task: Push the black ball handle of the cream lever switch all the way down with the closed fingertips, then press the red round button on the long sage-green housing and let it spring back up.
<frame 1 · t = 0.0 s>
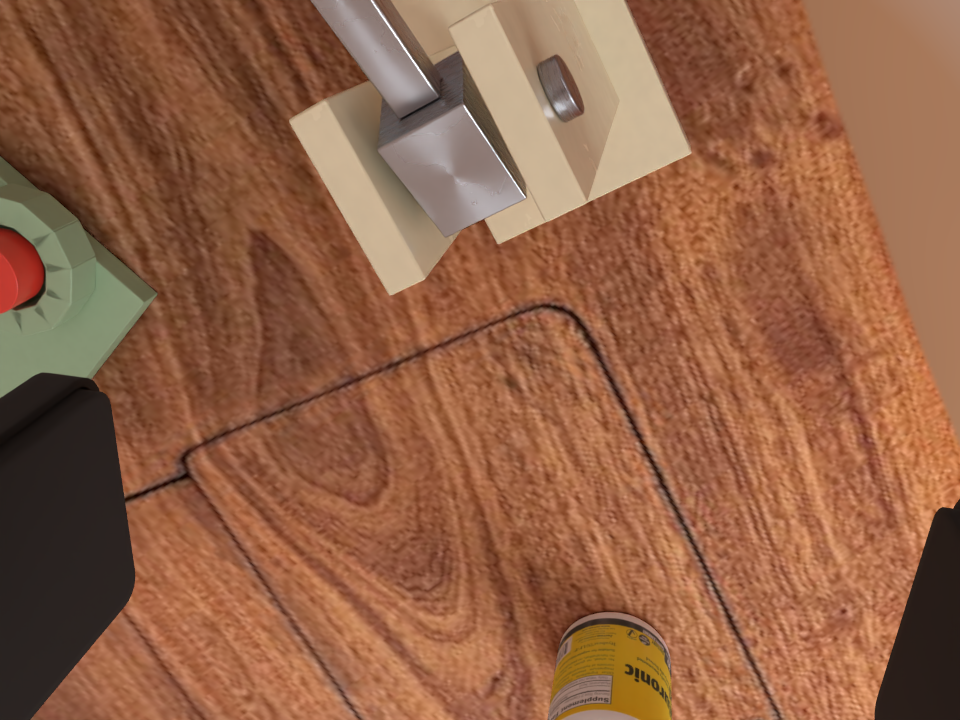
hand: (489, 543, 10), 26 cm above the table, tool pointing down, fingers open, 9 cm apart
switch bracket: (534, 73, 33), on the table
supplement bottle: (614, 649, 43), on the table
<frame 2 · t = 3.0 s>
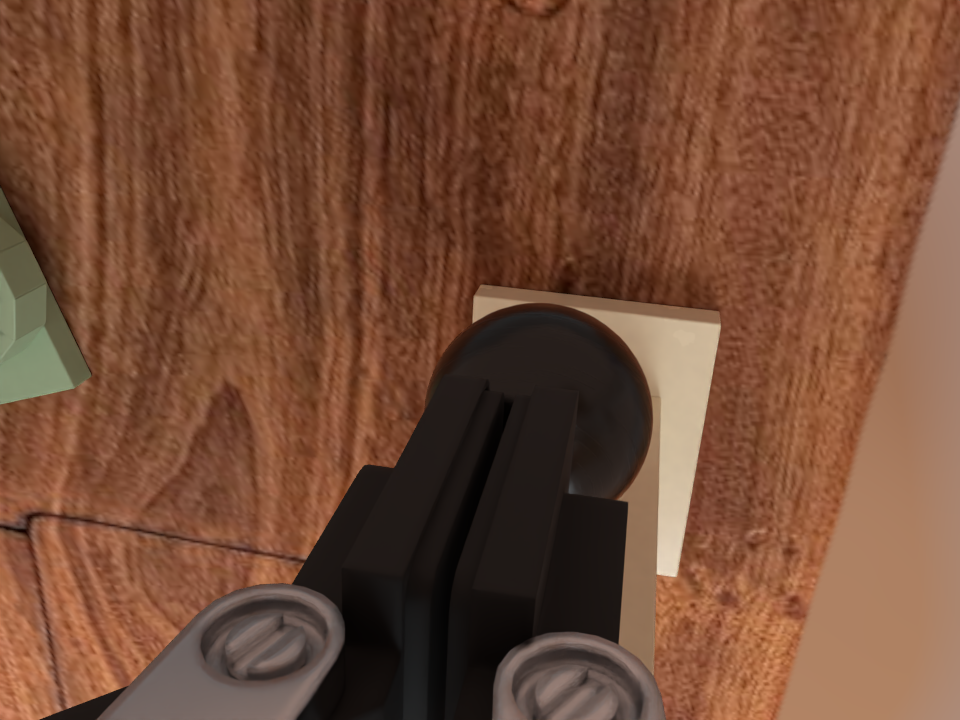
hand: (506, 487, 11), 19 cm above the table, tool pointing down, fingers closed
switch bracket: (583, 427, 32), on the table
lever: (529, 605, 16), point 16 cm above the table, hinge at 18.2°, touching gripper
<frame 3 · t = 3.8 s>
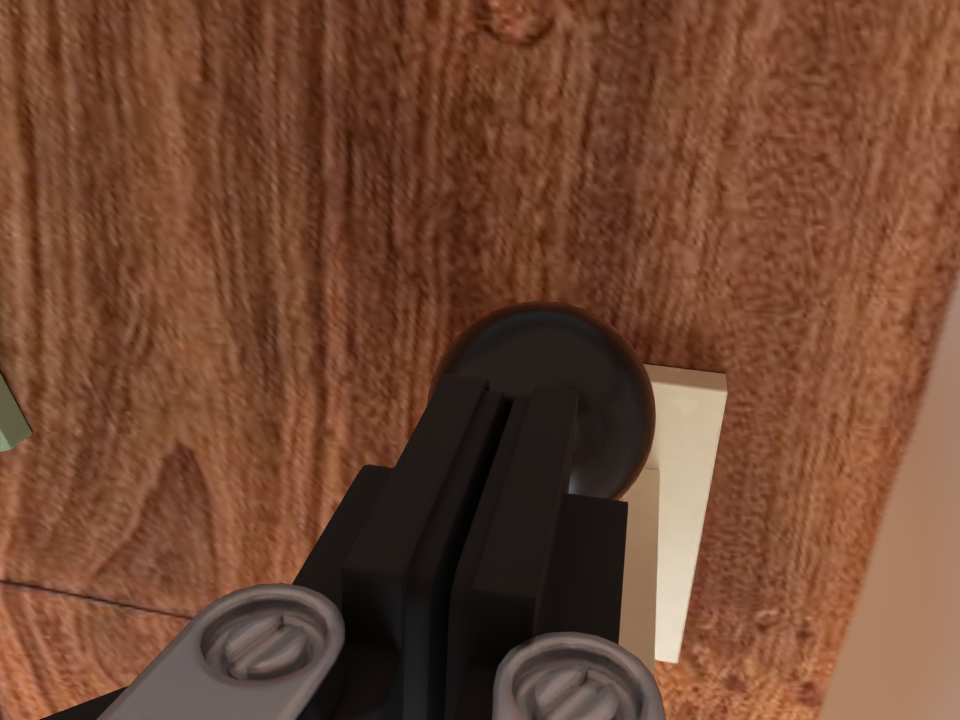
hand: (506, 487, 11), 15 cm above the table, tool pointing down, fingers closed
switch bracket: (573, 497, 29), on the table
lever: (514, 694, 14), point 14 cm above the table, hinge at -4.6°, touching gripper
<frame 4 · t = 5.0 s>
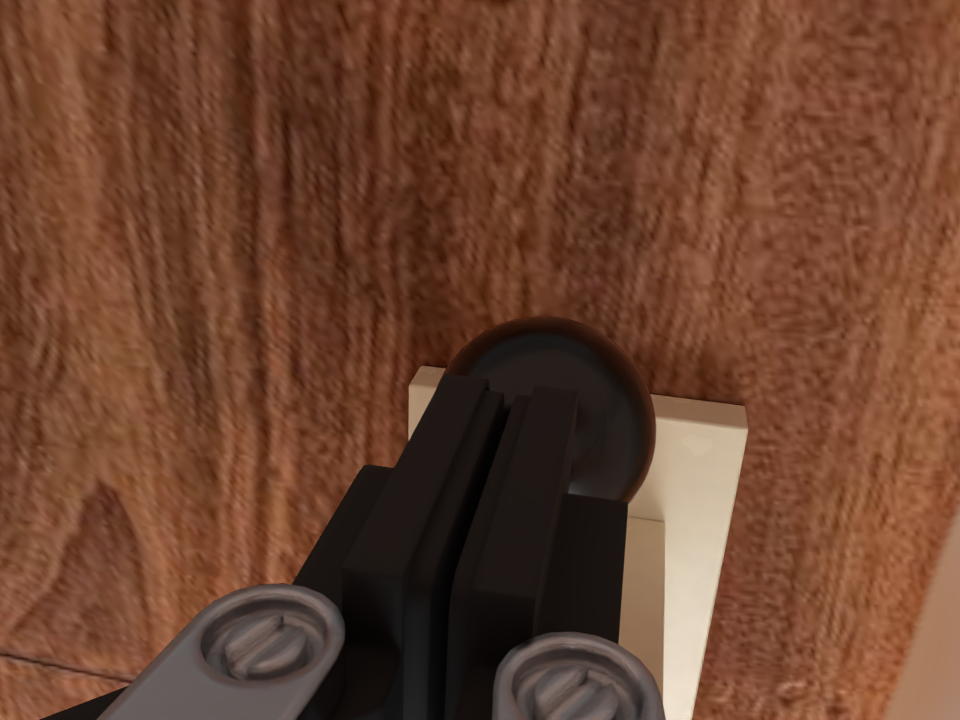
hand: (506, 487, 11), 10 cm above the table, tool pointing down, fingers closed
switch bracket: (561, 549, 24), on the table
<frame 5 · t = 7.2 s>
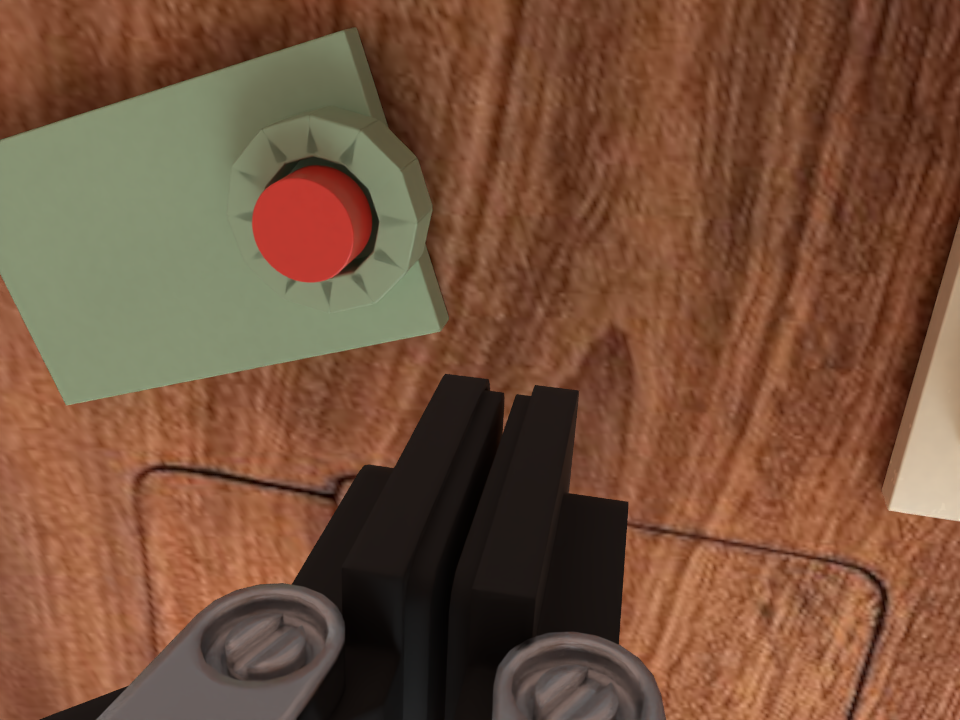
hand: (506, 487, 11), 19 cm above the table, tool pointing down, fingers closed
button box: (202, 233, 32), on the table
button: (313, 223, 27), point 3 cm above the table, slide at 0.1 cm
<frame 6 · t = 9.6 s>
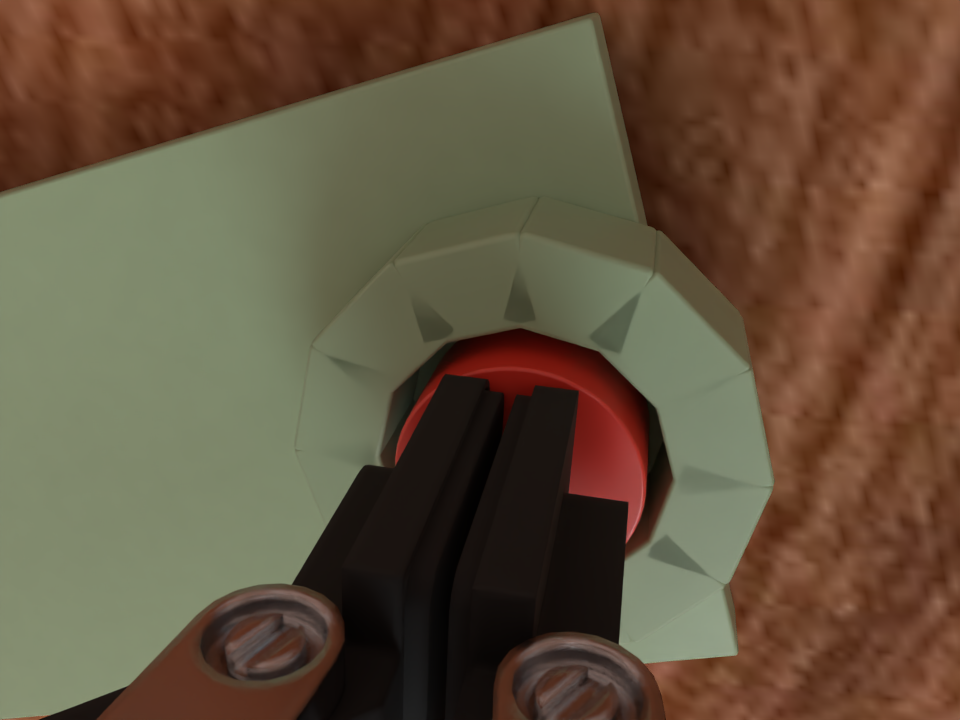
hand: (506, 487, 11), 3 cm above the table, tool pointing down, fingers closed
button box: (226, 431, 16), on the table
button: (526, 449, 12), point 3 cm above the table, slide at -0.9 cm, touching gripper
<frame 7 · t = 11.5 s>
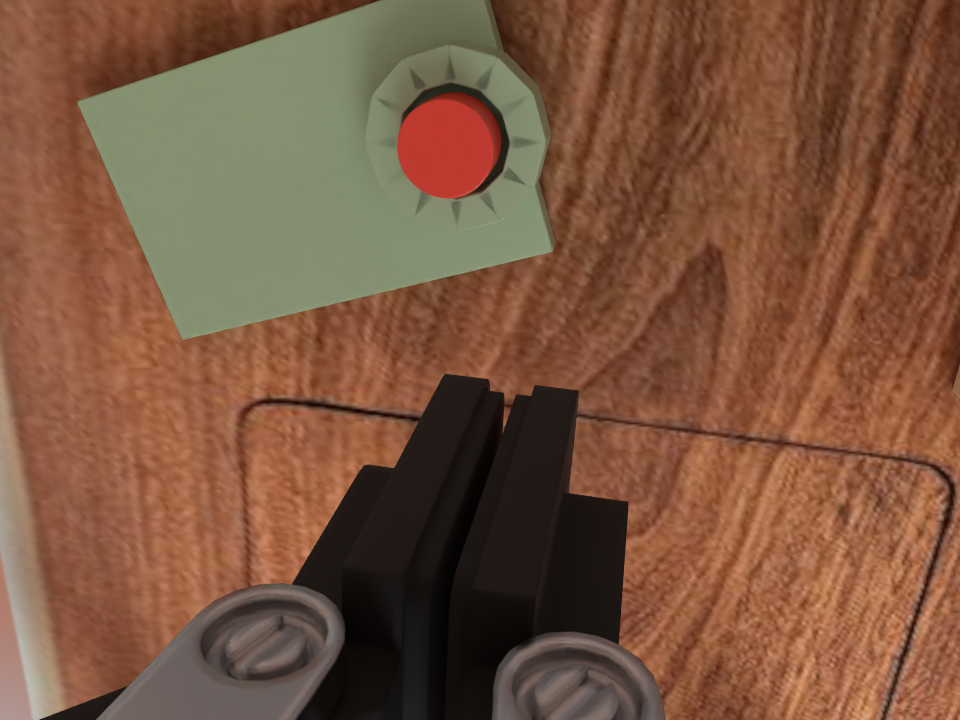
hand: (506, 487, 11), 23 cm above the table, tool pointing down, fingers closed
button box: (322, 169, 34), on the table
button: (450, 145, 30), point 4 cm above the table, slide at 0.1 cm
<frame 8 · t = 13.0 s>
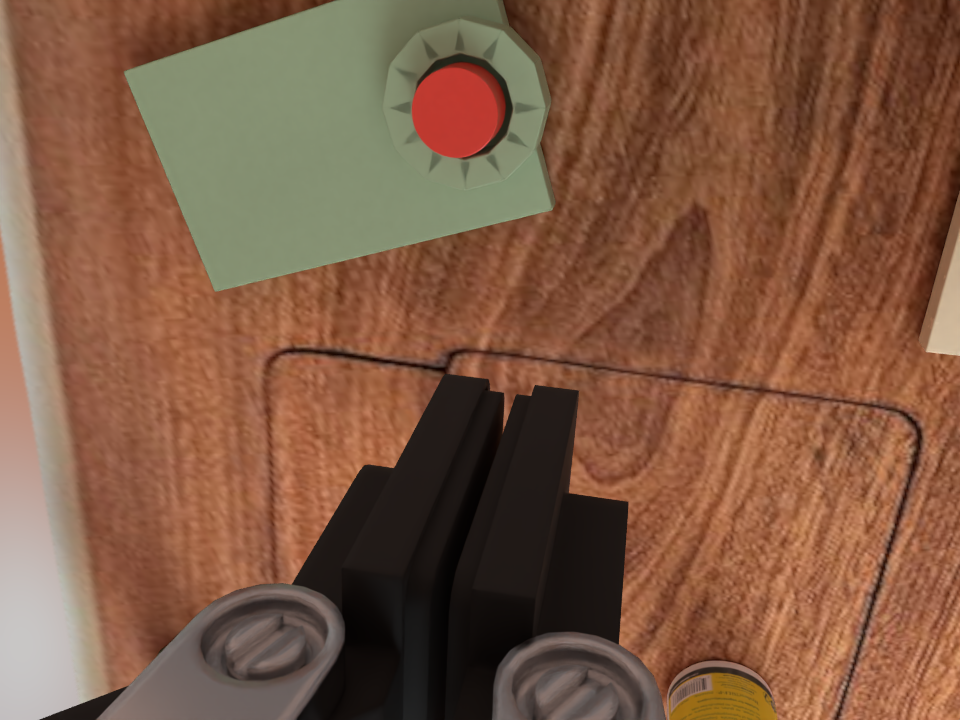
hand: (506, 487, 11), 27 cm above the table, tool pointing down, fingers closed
supplement bottle: (720, 693, 46), on the table
button box: (344, 134, 38), on the table
button: (459, 109, 33), point 4 cm above the table, slide at 0.1 cm
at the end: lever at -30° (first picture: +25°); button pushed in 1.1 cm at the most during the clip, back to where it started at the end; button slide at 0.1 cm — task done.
